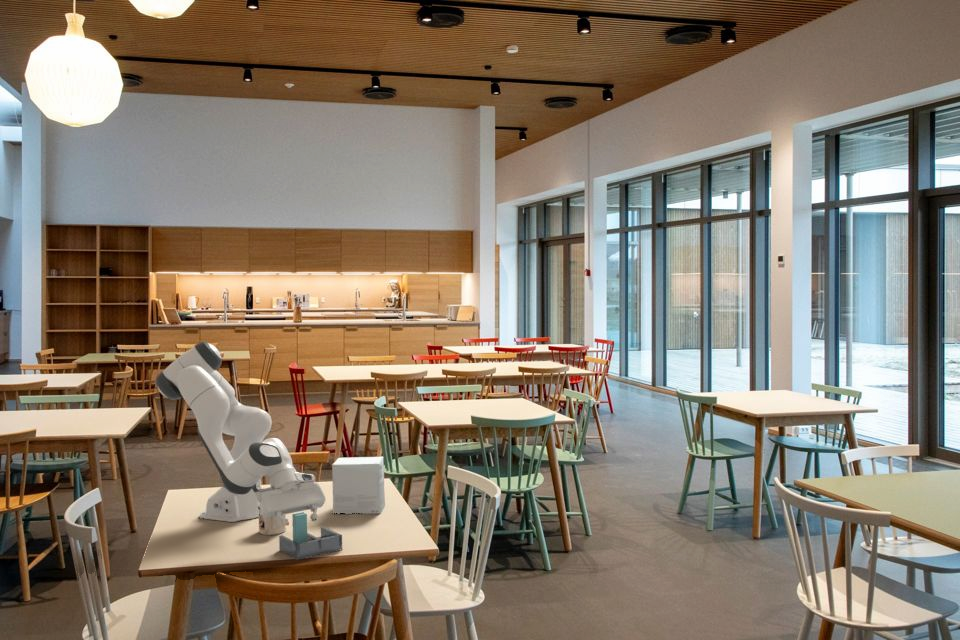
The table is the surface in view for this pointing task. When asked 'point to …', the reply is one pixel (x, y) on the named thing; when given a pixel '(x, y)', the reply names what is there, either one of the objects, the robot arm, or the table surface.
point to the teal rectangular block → (299, 527)
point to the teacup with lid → (270, 524)
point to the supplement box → (358, 485)
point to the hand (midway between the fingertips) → (300, 522)
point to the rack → (311, 544)
